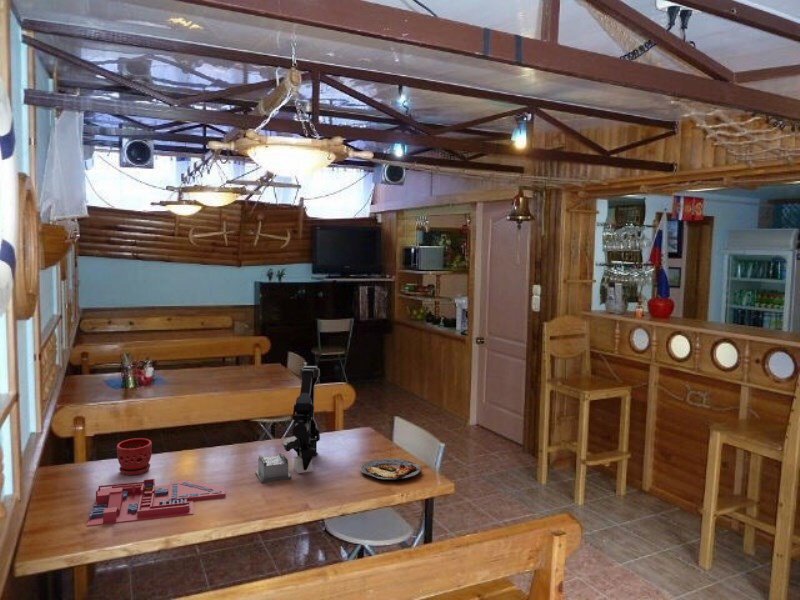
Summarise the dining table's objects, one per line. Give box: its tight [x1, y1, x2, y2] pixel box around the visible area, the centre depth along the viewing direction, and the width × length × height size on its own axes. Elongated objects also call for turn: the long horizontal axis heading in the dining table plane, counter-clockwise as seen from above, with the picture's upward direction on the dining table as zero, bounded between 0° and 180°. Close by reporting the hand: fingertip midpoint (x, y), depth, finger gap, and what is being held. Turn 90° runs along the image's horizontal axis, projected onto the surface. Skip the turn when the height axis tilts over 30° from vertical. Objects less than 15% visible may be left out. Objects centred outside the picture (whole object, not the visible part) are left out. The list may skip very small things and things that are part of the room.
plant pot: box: [116, 437, 153, 476], centre depth 250 cm, size 13×13×12 cm
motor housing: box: [254, 452, 292, 484], centre depth 250 cm, size 12×14×8 cm
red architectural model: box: [86, 478, 226, 527], centre depth 222 cm, size 30×45×6 cm
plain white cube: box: [293, 455, 313, 474], centre depth 256 cm, size 6×6×5 cm
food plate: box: [359, 458, 422, 481], centre depth 255 cm, size 25×23×4 cm
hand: (303, 467), depth 256 cm, fingers closed on plain white cube, 6 cm apart
